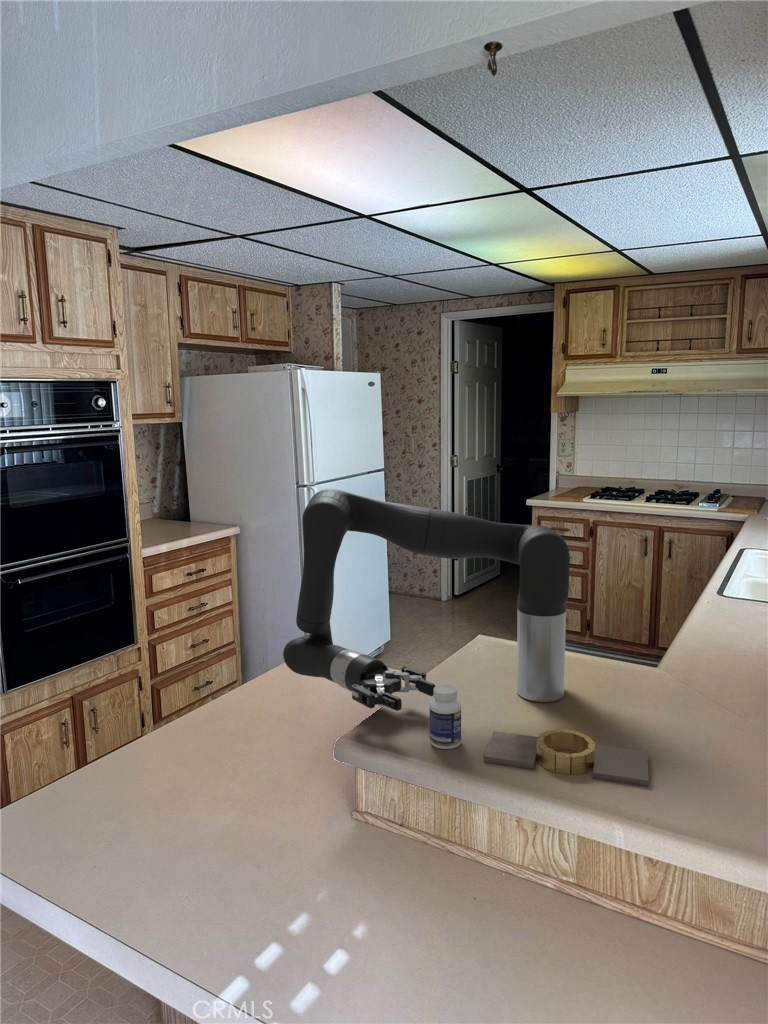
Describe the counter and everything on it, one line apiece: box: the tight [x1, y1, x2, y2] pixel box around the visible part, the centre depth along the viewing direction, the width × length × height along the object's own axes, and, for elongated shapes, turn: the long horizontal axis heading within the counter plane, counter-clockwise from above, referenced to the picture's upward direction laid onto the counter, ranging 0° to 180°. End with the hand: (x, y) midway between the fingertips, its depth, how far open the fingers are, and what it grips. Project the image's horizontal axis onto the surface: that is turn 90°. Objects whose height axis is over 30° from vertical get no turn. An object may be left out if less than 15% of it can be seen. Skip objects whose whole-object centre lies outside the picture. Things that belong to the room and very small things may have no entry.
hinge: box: [483, 728, 650, 788], centre depth 112 cm, size 9×25×3 cm, turn 71°
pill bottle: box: [429, 683, 462, 750], centre depth 119 cm, size 5×5×10 cm
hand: (417, 697), depth 123 cm, fingers open, 8 cm apart
